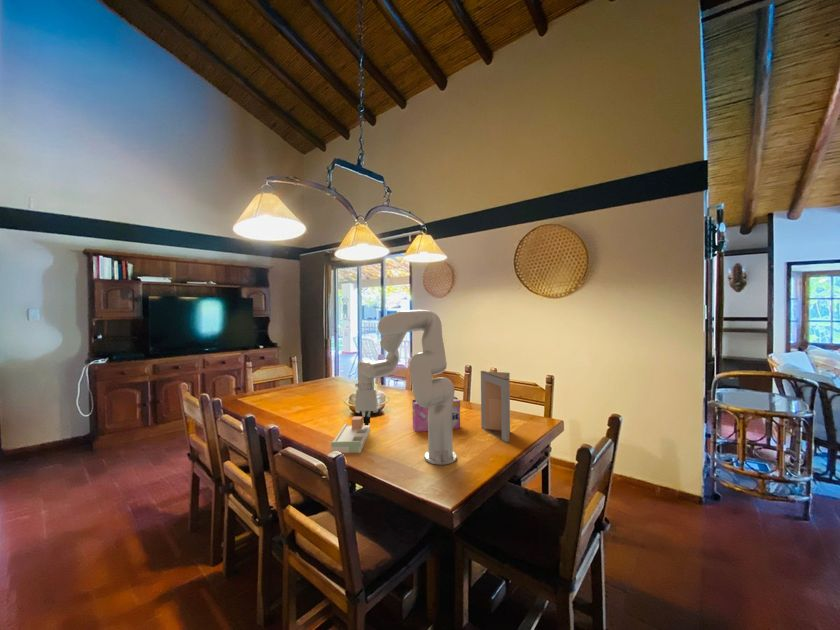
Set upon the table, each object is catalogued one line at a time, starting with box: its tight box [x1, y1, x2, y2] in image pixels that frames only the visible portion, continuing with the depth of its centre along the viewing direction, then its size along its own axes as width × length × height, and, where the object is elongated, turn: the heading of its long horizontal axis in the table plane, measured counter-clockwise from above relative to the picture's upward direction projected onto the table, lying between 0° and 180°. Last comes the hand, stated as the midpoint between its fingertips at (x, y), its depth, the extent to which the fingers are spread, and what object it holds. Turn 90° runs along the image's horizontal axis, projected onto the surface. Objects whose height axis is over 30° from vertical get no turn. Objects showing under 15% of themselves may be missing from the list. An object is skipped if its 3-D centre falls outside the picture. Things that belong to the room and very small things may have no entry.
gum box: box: [411, 396, 461, 433], centre depth 172 cm, size 24×8×14 cm, turn 101°
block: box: [351, 416, 364, 429], centre depth 166 cm, size 4×4×4 cm
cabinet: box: [480, 370, 511, 444], centre depth 162 cm, size 21×10×28 cm, turn 21°
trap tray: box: [330, 422, 371, 454], centre depth 156 cm, size 26×12×4 cm, turn 0°
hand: (366, 424), depth 166 cm, fingers closed
